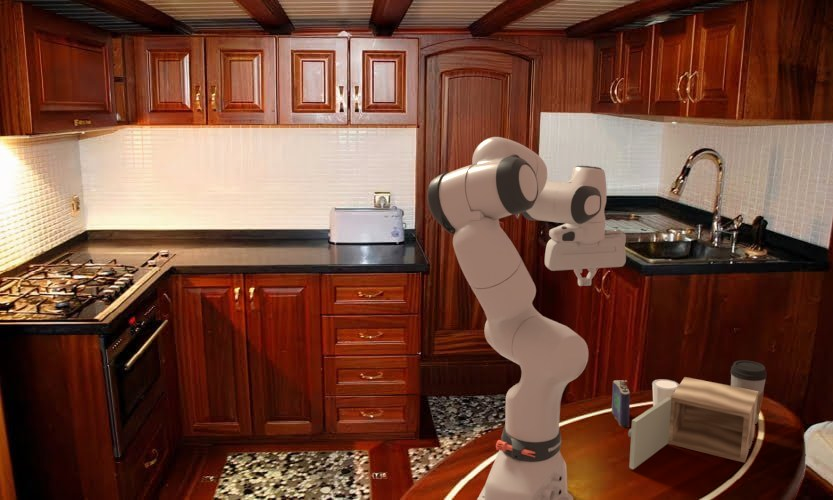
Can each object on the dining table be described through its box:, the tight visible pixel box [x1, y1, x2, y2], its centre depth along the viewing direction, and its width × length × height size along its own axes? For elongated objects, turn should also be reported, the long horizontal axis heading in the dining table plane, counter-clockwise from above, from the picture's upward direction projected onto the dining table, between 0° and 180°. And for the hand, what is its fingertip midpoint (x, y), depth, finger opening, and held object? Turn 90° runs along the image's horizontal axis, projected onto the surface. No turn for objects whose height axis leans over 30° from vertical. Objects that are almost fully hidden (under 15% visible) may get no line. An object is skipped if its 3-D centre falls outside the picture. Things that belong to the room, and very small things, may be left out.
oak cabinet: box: [667, 376, 759, 463], centre depth 169 cm, size 14×17×12 cm
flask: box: [611, 379, 631, 428], centre depth 181 cm, size 9×3×11 cm, turn 1°
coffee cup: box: [729, 359, 768, 424], centre depth 179 cm, size 8×8×15 cm
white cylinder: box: [651, 378, 680, 407], centre depth 187 cm, size 7×7×7 cm
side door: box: [627, 397, 671, 470], centre depth 162 cm, size 2×17×12 cm, turn 135°
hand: (584, 285), depth 177 cm, fingers closed
